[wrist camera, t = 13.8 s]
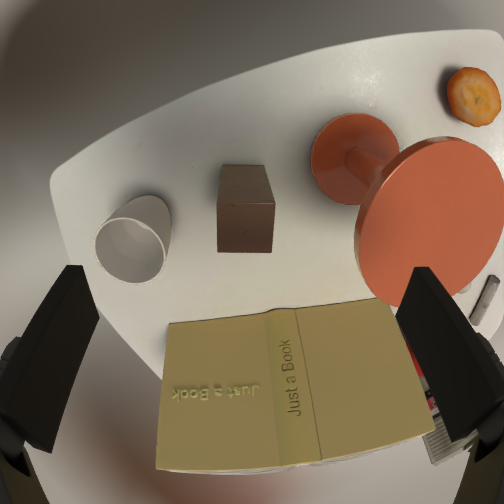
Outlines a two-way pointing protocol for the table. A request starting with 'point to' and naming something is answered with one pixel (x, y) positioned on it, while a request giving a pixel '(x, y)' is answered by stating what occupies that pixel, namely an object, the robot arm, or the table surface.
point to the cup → (135, 240)
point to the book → (287, 390)
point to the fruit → (473, 97)
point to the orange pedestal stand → (411, 202)
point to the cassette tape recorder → (440, 433)
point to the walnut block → (245, 210)
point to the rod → (485, 300)
